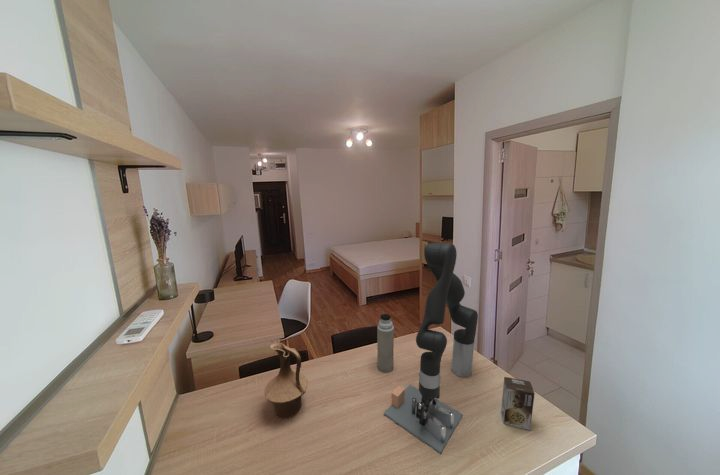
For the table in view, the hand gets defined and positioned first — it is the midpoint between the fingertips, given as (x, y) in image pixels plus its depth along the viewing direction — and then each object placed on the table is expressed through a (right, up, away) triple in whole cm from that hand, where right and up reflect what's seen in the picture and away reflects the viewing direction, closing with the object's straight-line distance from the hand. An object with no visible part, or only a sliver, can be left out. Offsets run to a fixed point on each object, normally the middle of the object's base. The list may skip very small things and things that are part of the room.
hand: (427, 417), depth 101 cm
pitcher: (-56, -2, +8) cm, 56 cm away
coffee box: (+34, -2, +1) cm, 34 cm away
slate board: (-1, -2, +4) cm, 4 cm away
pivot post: (-4, -2, +4) cm, 7 cm away
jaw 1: (0, -2, -3) cm, 4 cm away
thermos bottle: (-13, +3, +32) cm, 35 cm away
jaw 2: (+4, -2, +1) cm, 4 cm away
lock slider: (-10, 0, +9) cm, 14 cm away
